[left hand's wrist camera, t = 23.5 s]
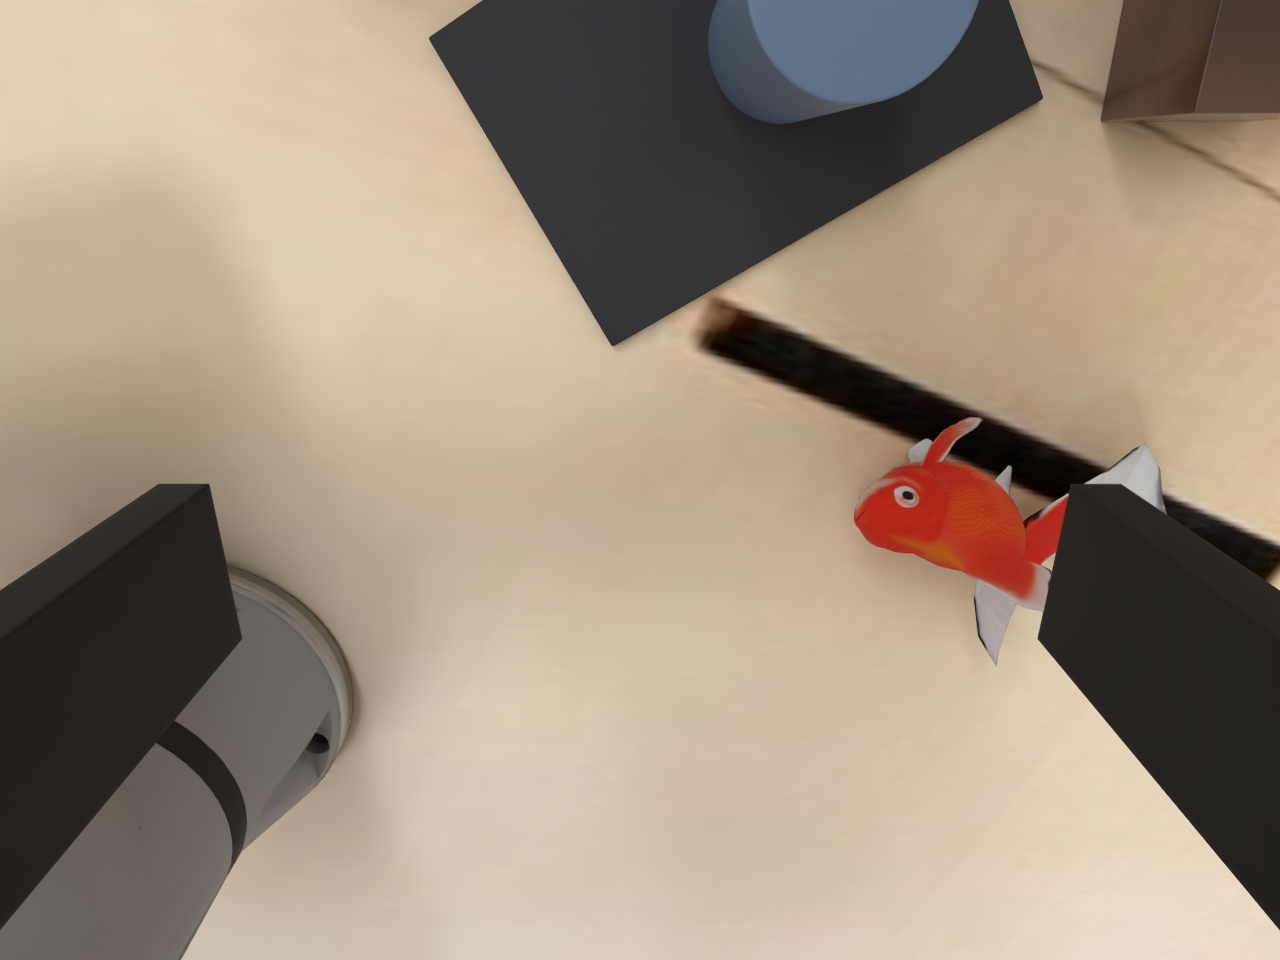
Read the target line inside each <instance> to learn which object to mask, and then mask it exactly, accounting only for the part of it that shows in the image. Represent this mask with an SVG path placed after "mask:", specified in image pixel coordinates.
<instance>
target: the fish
mask: <svg viewBox="0 0 1280 960" xmlns="http://www.w3.org/2000/svg"><path fill="white" fill-rule="evenodd" d="M982 420H983V419H981V418H979V417H969V418H966V419H964V420H961V421H959V422H958V423H957V424H954V425H952V426H950V427H949V428H947V429H945V430H944V431H942V433H941V434H940V435H939V436H938V437H937V438H936V439H935V440H934V442H933V443H932V441H931V440H929V439H924V440H922V441H921V442H919V443H917V444H916V445H915V446H913V447H912V448H910V450H909V451H908V454H907V455H908V458H909V460H910V463H906V464H904V465H901V466H899V467H897V468H893V469H892V470H891V471H889V472H888V473H887V474H885V475H884V476H882V477H881V478H880V479H878V480H877V481H876V482H874V483H873V484H872V485H871V486H870V487H869V488H867V489H866V491H865V492H864V493H863V494H862V495H861V497H860V499H859V501H858V503H857V505H856V508H855V512H854V521H855V524H856V526H857V527H858V528H859V529H860V531H861V532H862V534H863V535H864V537H865V539H866V540H867V541H868V542H869V543H871V544H873V545H875V546H878V547H882V548H885V549H888V550H891V551H894V552H900V553H914V554H916V555H918V556H919V557H921V558H923V559H926V560H928V561H930V562H931V563H934V564H936V565H938V566H941V567H945V568H949V569H954V570H961V571H963V572H964V573H966V574H967V575H969V576H971V577H973V578H975V579H976V580H977V583H976V589H975V595H974V604H975V613H976V621H977V630H978V637H979V639H980V640H981V642H982V644H983V645H984V647H985V649H986V650H987V652H988V654H989V655H990V657H991V659H992V660H993V662H994V664H995V665H997V659H998V654H999V651H1000V647H1001V643H1002V640H1003V637H1004V634H1005V631H1006V628H1007V625H1008V623H1009V620H1010V617H1011V615H1012V613H1013V610H1014V608H1015V606H1016V604H1017V603H1018V604H1019V605H1021V606H1022V607H1024V608H1028V609H1032V610H1036V611H1040V612H1043V611H1044V607H1045V602H1046V597H1047V593H1048V588H1049V583H1050V579H1051V574H1052V573H1051V571H1050V570H1049V569H1048V568H1045V567H1043V566H1041V564H1042V563H1043V562H1044V561H1045V560H1047V559H1048V558H1049V557H1050V556H1051V555H1053V554H1054V553H1056V551H1057V546H1058V541H1059V537H1060V532H1061V527H1062V523H1063V518H1064V513H1065V509H1066V504H1067V500H1068V495H1069V493H1068V494H1066V495H1065V496H1063V497H1061V498H1060V499H1058V500H1056V501H1055V502H1053V503H1051V504H1050V505H1048V506H1047V507H1045V508H1043V509H1041V510H1040V511H1038V512H1036V513H1035V514H1033V515H1031V516H1030V517H1028V518H1027V519H1026V520H1025V521H1024V522H1022V519H1021V516H1020V514H1019V511H1018V509H1017V507H1016V505H1015V503H1014V502H1013V500H1012V499H1011V498H1010V482H1011V473H1012V467H1011V466H1010V465H1008V466H1007V468H1006V469H1005V470H1004V471H1003V472H1002V473H1001V474H1000V475H999V476H998V477H997V479H996V480H993V479H992V478H991V477H989V476H987V475H986V474H984V473H982V472H980V471H979V470H977V469H975V468H974V467H971V466H969V465H966V464H962V463H957V462H951V461H945V458H946V457H947V455H948V454H949V452H950V450H951V448H952V447H953V445H954V444H955V442H956V441H957V440H959V439H960V438H961V437H963V436H964V435H966V434H967V433H969V432H971V431H972V430H974V429H975V428H976V427H977V426H978V425H979V424H980V422H981V421H982ZM1085 484H1122V485H1123V486H1125V487H1126V488H1128V489H1129V490H1131V491H1132V492H1134V493H1135V494H1137V495H1138V496H1140V497H1141V498H1143V499H1144V500H1146V501H1147V502H1149V503H1150V504H1152V505H1153V506H1155V507H1156V508H1158V509H1159V510H1161V511H1162V512H1164V513H1165V514H1167V513H1166V510H1165V506H1164V502H1163V498H1162V490H1161V474H1160V468H1159V466H1158V464H1157V463H1156V461H1155V459H1154V457H1153V455H1152V453H1151V452H1150V450H1149V448H1148V446H1147V444H1146V443H1145V444H1143V445H1141V446H1139V447H1137V448H1135V449H1133V450H1132V451H1131V452H1130V453H1128V454H1127V455H1126V456H1125V457H1123V458H1122V459H1121V460H1120V461H1118V462H1117V463H1116V464H1115V465H1113V466H1112V467H1111V468H1110V469H1109V470H1107V471H1106V472H1104V473H1102V474H1100V475H1099V476H1097V477H1095V478H1094V479H1092V480H1090V481H1088V482H1087V483H1085Z"/></svg>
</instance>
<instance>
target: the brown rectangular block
mask: <svg viewBox="0 0 1280 960" xmlns="http://www.w3.org/2000/svg"><path fill="white" fill-rule="evenodd" d="M1273 119H1280V0H1124V4H1123V9H1122V14H1121V19H1120V24H1119V30H1118V35H1117V40H1116V45H1115V50H1114V55H1113V61H1112V66H1111V71H1110V76H1109V81H1108V86H1107V91H1106V97H1105V102H1104V107H1103V112H1102V117H1101V121H1257V120H1273Z"/></svg>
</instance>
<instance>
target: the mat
mask: <svg viewBox="0 0 1280 960" xmlns="http://www.w3.org/2000/svg"><path fill="white" fill-rule="evenodd" d="M716 2H717V0H483V1H481V2H480V3H478V4H477V5H475V6H474V7H472V8H471V9H470V10H468V11H467V12H465V13H464V14H462V15H461V16H459V17H458V18H457V19H455V20H454V21H452V22H451V23H449V24H448V25H446V26H445V27H444V28H442V29H441V30H439V31H438V32H436V33H435V34H433V35H432V36H431V37H430V38H429V40H430V42H431V43H432V45H433V47H434V48H435V50H436V52H437V53H438V55H439V57H440V58H441V60H442V62H443V64H444V65H445V67H446V69H447V70H448V72H449V74H450V75H451V77H452V79H453V80H454V82H455V84H456V85H457V87H458V89H459V90H460V92H461V94H462V95H463V97H464V99H465V100H466V102H467V104H468V105H469V107H470V109H471V111H472V112H473V114H474V116H475V117H476V119H477V121H478V122H479V124H480V126H481V127H482V129H483V131H484V132H485V134H486V136H487V137H488V139H489V141H490V142H491V144H492V146H493V147H494V149H495V151H496V152H497V154H498V156H499V158H500V159H501V161H502V163H503V164H504V166H505V168H506V169H507V171H508V173H509V174H510V176H511V178H512V179H513V181H514V183H515V184H516V186H517V188H518V189H519V191H520V193H521V194H522V196H523V198H524V199H525V201H526V203H527V205H528V206H529V208H530V210H531V211H532V213H533V215H534V216H535V218H536V220H537V221H538V223H539V225H540V226H541V228H542V230H543V231H544V233H545V235H546V236H547V238H548V240H549V241H550V243H551V245H552V246H553V248H554V250H555V251H556V253H557V255H558V257H559V258H560V260H561V262H562V263H563V265H564V267H565V268H566V270H567V272H568V273H569V275H570V277H571V278H572V280H573V282H574V283H575V285H576V287H577V288H578V290H579V292H580V293H581V295H582V297H583V298H584V300H585V302H586V304H587V305H588V307H589V309H590V310H591V312H592V314H593V315H594V317H595V319H596V320H597V322H598V324H599V325H600V327H601V329H602V330H603V332H604V334H605V335H606V337H607V339H608V340H609V342H610V344H611V345H612V346H615V345H616V344H618V343H620V342H622V341H623V340H625V339H627V338H628V337H630V336H632V335H634V334H635V333H637V332H639V331H641V330H642V329H644V328H646V327H648V326H649V325H651V324H653V323H655V322H656V321H658V320H660V319H661V318H663V317H665V316H667V315H668V314H670V313H672V312H674V311H675V310H677V309H679V308H681V307H682V306H684V305H686V304H688V303H689V302H691V301H693V300H694V299H696V298H698V297H700V296H701V295H703V294H705V293H707V292H708V291H710V290H712V289H714V288H715V287H717V286H719V285H720V284H722V283H724V282H726V281H727V280H729V279H731V278H733V277H734V276H736V275H738V274H740V273H741V272H743V271H745V270H747V269H748V268H750V267H752V266H753V265H755V264H757V263H759V262H760V261H762V260H764V259H766V258H767V257H769V256H771V255H773V254H774V253H776V252H778V251H780V250H781V249H783V248H785V247H786V246H788V245H790V244H792V243H793V242H795V241H797V240H799V239H800V238H802V237H804V236H806V235H807V234H809V233H811V232H812V231H814V230H816V229H818V228H819V227H821V226H823V225H825V224H826V223H828V222H830V221H832V220H833V219H835V218H837V217H839V216H840V215H842V214H844V213H845V212H847V211H849V210H851V209H852V208H854V207H856V206H858V205H859V204H861V203H863V202H865V201H866V200H868V199H870V198H871V197H873V196H875V195H877V194H878V193H880V192H882V191H884V190H885V189H887V188H889V187H891V186H892V185H894V184H896V183H898V182H899V181H901V180H903V179H904V178H906V177H908V176H910V175H911V174H913V173H915V172H917V171H918V170H920V169H922V168H924V167H925V166H927V165H929V164H931V163H932V162H934V161H936V160H937V159H939V158H941V157H943V156H944V155H946V154H948V153H950V152H951V151H953V150H955V149H957V148H958V147H960V146H962V145H963V144H965V143H967V142H969V141H970V140H972V139H974V138H976V137H977V136H979V135H981V134H983V133H984V132H986V131H988V130H990V129H991V128H993V127H995V126H996V125H998V124H1000V123H1002V122H1003V121H1005V120H1007V119H1009V118H1010V117H1012V116H1014V115H1016V114H1017V113H1019V112H1021V111H1023V110H1024V109H1026V108H1028V107H1029V106H1031V105H1033V104H1035V103H1036V102H1038V101H1040V100H1042V99H1043V96H1042V93H1041V90H1040V87H1039V84H1038V82H1037V79H1036V76H1035V73H1034V70H1033V67H1032V65H1031V62H1030V59H1029V56H1028V53H1027V50H1026V48H1025V45H1024V42H1023V39H1022V36H1021V33H1020V31H1019V28H1018V25H1017V22H1016V19H1015V17H1014V14H1013V11H1012V8H1011V5H1010V2H1009V0H979V1H978V4H977V8H976V10H975V12H974V15H973V17H972V19H971V22H970V24H969V26H968V28H967V30H966V31H965V33H964V35H963V37H962V38H961V40H960V42H959V43H958V44H957V46H956V47H955V49H954V50H953V51H952V53H951V54H950V55H949V56H948V58H947V59H946V60H945V61H944V62H943V63H942V64H941V65H940V66H939V68H937V69H936V70H935V71H934V72H933V73H932V74H931V75H929V76H928V77H927V78H926V79H925V80H923V81H922V82H920V83H919V84H917V85H916V86H914V87H913V88H911V89H909V90H907V91H905V92H903V93H902V94H900V95H897V96H895V97H892V98H889V99H886V100H884V101H880V102H876V103H872V104H868V105H863V106H859V107H855V108H851V109H847V110H843V111H839V112H835V113H831V114H827V115H823V116H819V117H815V118H811V119H807V120H803V121H798V122H794V123H786V124H775V123H767V122H763V121H760V120H757V119H754V118H752V117H750V116H748V115H746V114H745V113H743V112H742V111H740V110H739V109H738V108H736V107H735V106H734V105H733V104H732V103H731V102H730V101H729V100H728V98H727V97H726V96H725V94H724V93H723V92H722V90H721V88H720V87H719V85H718V83H717V81H716V78H715V76H714V74H713V71H712V67H711V63H710V58H709V51H708V34H709V26H710V21H711V16H712V13H713V10H714V7H715V4H716Z"/></svg>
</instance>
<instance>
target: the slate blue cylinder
mask: <svg viewBox="0 0 1280 960" xmlns="http://www.w3.org/2000/svg"><path fill="white" fill-rule="evenodd" d="M978 1H979V0H717V2H716V4H715V7H714V10H713V13H712V16H711V21H710V26H709V34H708V51H709V58H710V63H711V67H712V71H713V74H714V76H715V78H716V81H717V83H718V85H719V87H720V88H721V90H722V92H723V93H724V94H725V96H726V97H727V98H728V100H729V101H730V102H731V103H732V104H733V105H734V106H735V107H736V108H738V109H739V110H740V111H742V112H743V113H745V114H746V115H748V116H750V117H752V118H754V119H757V120H760V121H763V122H767V123H775V124H786V123H794V122H798V121H803V120H807V119H811V118H815V117H819V116H823V115H827V114H831V113H835V112H839V111H843V110H847V109H851V108H855V107H859V106H863V105H868V104H872V103H876V102H880V101H884V100H886V99H889V98H892V97H895V96H897V95H900V94H902V93H903V92H905V91H907V90H909V89H911V88H913V87H914V86H916V85H917V84H919V83H920V82H922V81H923V80H925V79H926V78H927V77H928V76H929V75H931V74H932V73H933V72H934V71H935V70H936V69H937V68H939V66H940V65H941V64H942V63H943V62H944V61H945V60H946V59H947V58H948V56H949V55H950V54H951V53H952V51H953V50H954V49H955V47H956V46H957V44H958V43H959V42H960V40H961V38H962V37H963V35H964V33H965V31H966V30H967V28H968V26H969V24H970V22H971V19H972V17H973V15H974V12H975V10H976V8H977V4H978Z"/></svg>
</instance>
